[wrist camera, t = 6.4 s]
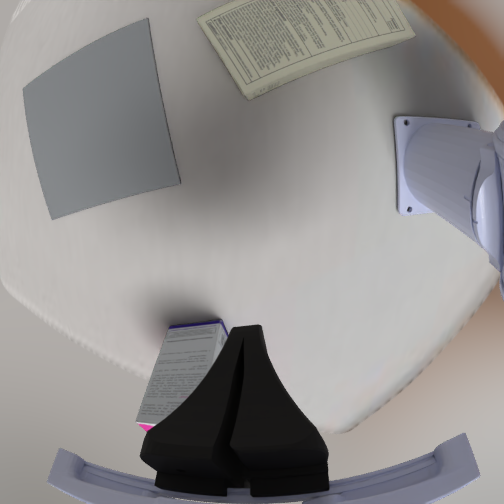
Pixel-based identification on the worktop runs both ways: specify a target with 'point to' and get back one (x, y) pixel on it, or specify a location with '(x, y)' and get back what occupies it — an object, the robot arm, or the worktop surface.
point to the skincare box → (298, 37)
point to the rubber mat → (100, 124)
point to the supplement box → (180, 368)
